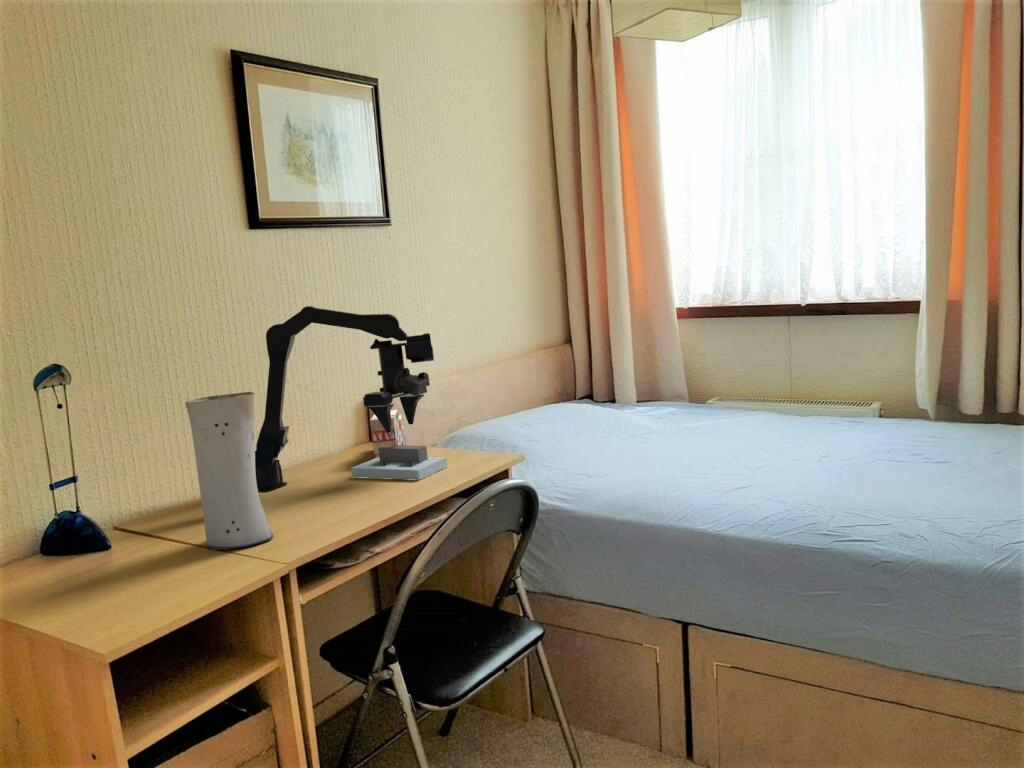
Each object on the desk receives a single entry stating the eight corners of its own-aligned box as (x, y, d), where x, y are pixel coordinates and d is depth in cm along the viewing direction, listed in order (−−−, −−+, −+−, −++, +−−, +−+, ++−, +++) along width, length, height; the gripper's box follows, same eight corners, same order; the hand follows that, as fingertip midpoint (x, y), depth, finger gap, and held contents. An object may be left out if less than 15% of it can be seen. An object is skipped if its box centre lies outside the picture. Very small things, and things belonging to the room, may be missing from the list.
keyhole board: (447, 467, 192) (446, 457, 191) (419, 480, 181) (418, 470, 181) (382, 465, 201) (381, 456, 201) (352, 477, 191) (351, 467, 190)
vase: (291, 534, 150) (274, 390, 148) (231, 556, 139) (211, 401, 136) (248, 528, 158) (231, 391, 155) (188, 549, 146) (168, 402, 144)
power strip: (428, 468, 191) (426, 444, 191) (420, 471, 188) (417, 448, 188) (389, 467, 197) (386, 444, 196) (381, 470, 194) (378, 447, 193)
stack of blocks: (384, 448, 224) (379, 406, 222) (406, 446, 224) (401, 404, 223) (375, 465, 203) (369, 419, 201) (399, 463, 203) (393, 416, 201)
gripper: (396, 369, 178) (404, 436, 180) (440, 358, 194) (448, 420, 196) (357, 371, 183) (366, 436, 185) (404, 360, 199) (411, 420, 201)
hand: (400, 428), depth 192 cm, fingers open, 9 cm apart
